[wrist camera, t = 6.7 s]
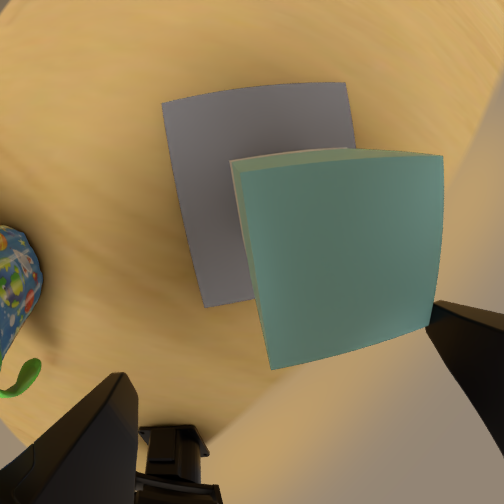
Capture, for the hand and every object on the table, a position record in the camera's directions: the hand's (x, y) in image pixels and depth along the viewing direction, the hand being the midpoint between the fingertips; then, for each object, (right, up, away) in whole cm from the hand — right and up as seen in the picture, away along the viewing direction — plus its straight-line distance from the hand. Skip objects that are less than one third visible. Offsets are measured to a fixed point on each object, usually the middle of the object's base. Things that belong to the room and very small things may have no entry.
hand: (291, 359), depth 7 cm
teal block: (+1, +4, +5) cm, 7 cm away
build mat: (0, +7, +11) cm, 13 cm away
